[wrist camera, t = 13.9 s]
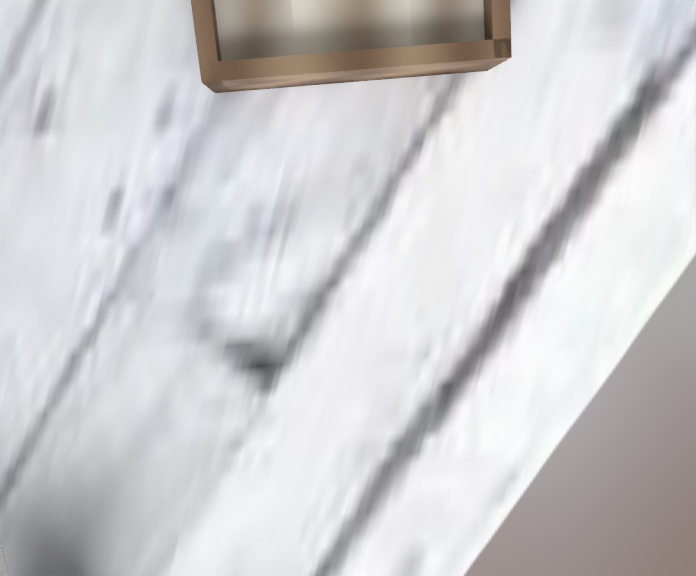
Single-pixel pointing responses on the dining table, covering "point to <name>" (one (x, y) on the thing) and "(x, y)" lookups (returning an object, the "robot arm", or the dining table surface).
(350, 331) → the dining table surface
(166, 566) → the dining table surface
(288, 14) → the socket box
